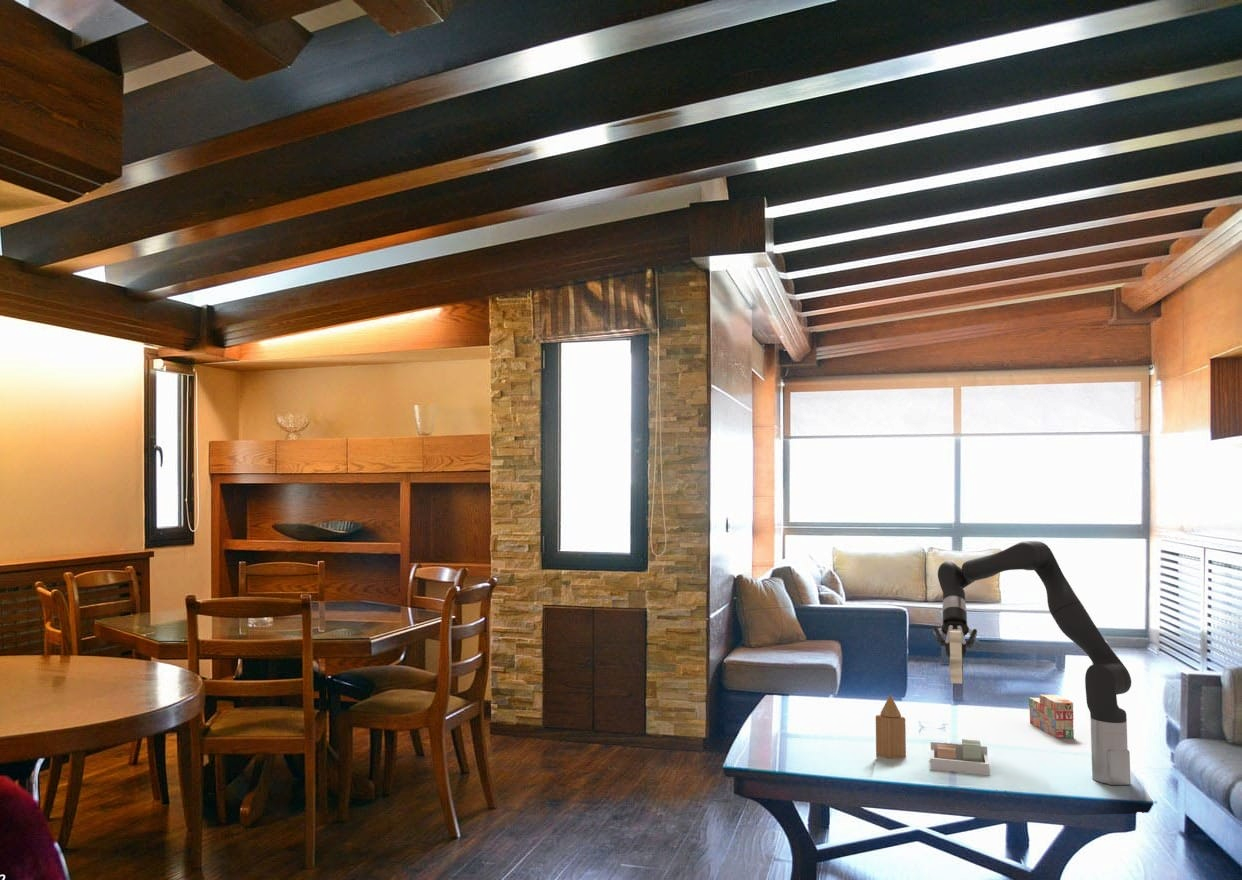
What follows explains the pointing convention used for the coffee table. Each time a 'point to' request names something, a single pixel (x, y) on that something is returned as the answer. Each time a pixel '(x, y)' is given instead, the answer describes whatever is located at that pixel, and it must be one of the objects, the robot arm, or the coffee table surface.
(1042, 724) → the stack of blocks
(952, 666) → the birch board
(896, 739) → the decorative item
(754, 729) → the coffee table surface
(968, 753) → the offcut tall
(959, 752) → the white tray
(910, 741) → the coffee table surface
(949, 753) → the offcut short
